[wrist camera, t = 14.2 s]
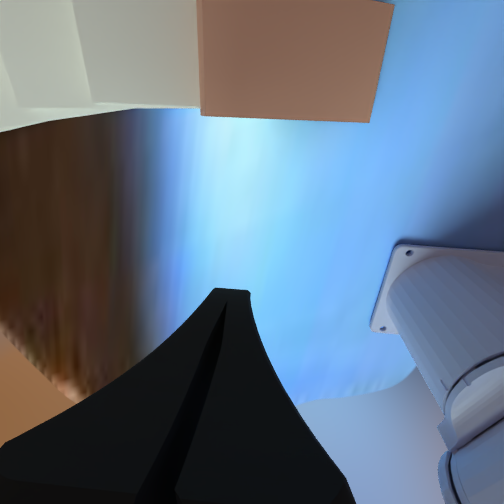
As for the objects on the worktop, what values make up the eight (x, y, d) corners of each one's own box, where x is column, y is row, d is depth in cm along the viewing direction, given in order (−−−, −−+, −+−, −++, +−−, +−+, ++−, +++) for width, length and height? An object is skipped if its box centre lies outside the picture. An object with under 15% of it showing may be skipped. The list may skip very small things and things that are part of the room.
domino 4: (119, -13, 13) (-125, -6, 11) (151, 105, 16) (-39, 133, 13) (119, -2, 14) (-98, 6, 12) (149, 105, 17) (-24, 130, 14)
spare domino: (394, 4, 13) (200, -34, 10) (369, 122, 15) (205, 115, 12) (371, 14, 14) (195, -17, 12) (351, 121, 16) (200, 115, 14)
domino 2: (283, -10, 13) (59, -59, 10) (275, 109, 15) (92, 101, 12) (268, 1, 14) (67, -40, 11) (263, 109, 16) (95, 102, 13)
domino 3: (207, -10, 13) (-34, -48, 10) (213, 108, 15) (19, 107, 12) (199, 0, 14) (-16, -30, 11) (206, 108, 17) (29, 107, 14)
